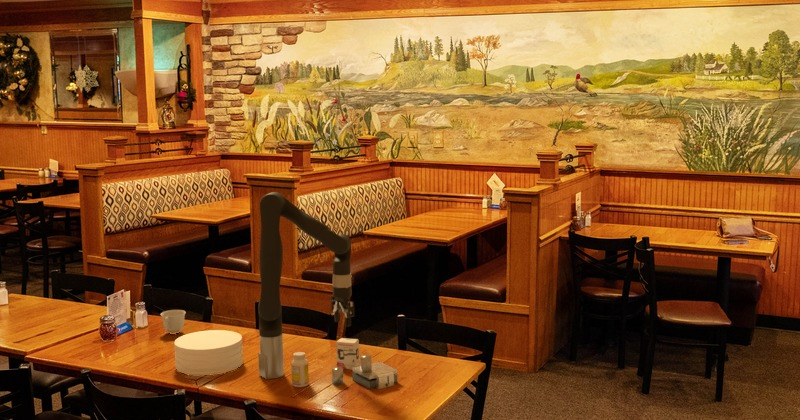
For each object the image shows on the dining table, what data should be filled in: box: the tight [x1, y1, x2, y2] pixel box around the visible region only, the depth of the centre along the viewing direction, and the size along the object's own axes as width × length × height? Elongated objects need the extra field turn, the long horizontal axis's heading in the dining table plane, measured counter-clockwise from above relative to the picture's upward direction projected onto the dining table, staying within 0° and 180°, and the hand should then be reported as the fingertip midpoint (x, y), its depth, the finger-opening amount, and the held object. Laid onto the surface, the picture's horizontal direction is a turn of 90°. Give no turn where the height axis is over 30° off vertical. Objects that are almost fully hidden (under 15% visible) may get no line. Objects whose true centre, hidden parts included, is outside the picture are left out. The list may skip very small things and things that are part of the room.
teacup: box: [160, 309, 187, 333], centre depth 405 cm, size 12×15×10 cm
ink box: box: [336, 337, 360, 370], centre depth 352 cm, size 8×5×12 cm, turn 72°
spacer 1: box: [331, 366, 344, 386], centre depth 334 cm, size 4×4×6 cm
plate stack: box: [173, 329, 244, 376], centre depth 358 cm, size 28×28×12 cm
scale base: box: [351, 371, 399, 390], centre depth 335 cm, size 13×15×5 cm
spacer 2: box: [359, 354, 373, 373], centre depth 333 cm, size 4×4×6 cm
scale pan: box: [352, 361, 398, 379], centre depth 335 cm, size 13×13×2 cm
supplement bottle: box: [290, 351, 310, 388], centre depth 332 cm, size 7×7×13 cm
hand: (342, 324), depth 339 cm, fingers open, 8 cm apart
